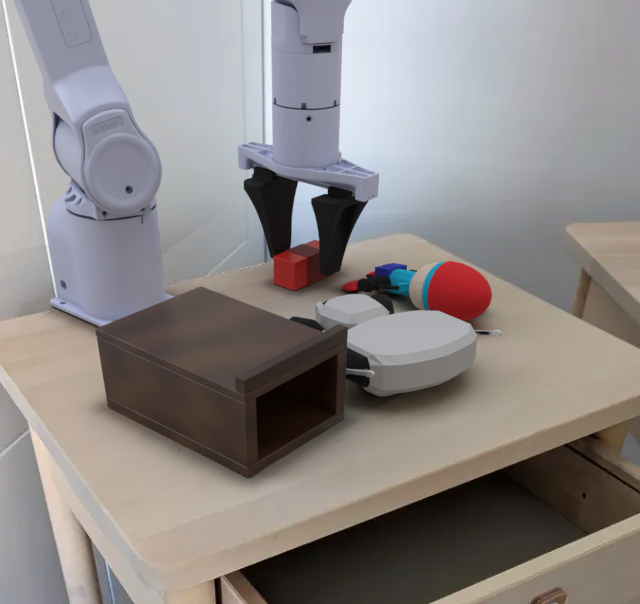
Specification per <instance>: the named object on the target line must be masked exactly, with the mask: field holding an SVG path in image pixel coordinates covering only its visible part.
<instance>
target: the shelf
mask: <svg viewBox="0 0 640 604" xmlns="http://www.w3.org/2000/svg"><path fill="white" fill-rule="evenodd" d="M289 319H290V318H286V317H284V316H282V315H279V314H276V313H273V312H271V311H268V310H265V309H263V308H261V307H257V306H255V305H251V304H249V303H247V302H244V301H241V300H238V299H237V298H233V297H230V296H229V295H226V294H222V293H220V292H218V291H214V290H212V289H209V288H207V287H205V286H201V285H200V286H198V287H195V288H194V289H191V290H188V291H186V292H183V293H181V294H178V295H176V296H175V297H173V298H170V299H168V300H165V301H163V302H161V303H158V304H156V305H153V306H151V307H148V308H146V309H143V310H141V311H138V312H136V313H133V314H131V315H128V316H126V317H123V318H121V319H118V320H116V321H113V322H111V323H108V324H106V325H103V326H101V327H99V326H97V327H96V328H94V329H95V336H96V341H97V347H98V354H99V359H100V360H99V361H100V367H101V372H102V373H101V374H102V379H103V380H102V381H103V386H104V392H105V398H106V406H107V407H108V408H110V409H112V410H114V411H115V412H117V413H120V415H123V416H125V417H127V418H129V419H131V420H132V421H133V420H134V421H135V422H137V423H139V424H141V425H143V426H145V427H146V428H149V429H151V430H153V431H154V432H157V433H159V434H161V435H162V436H165V437H167V438H169V439H170V440H172V441H175V442H176V443H178V444H180V445H182V446H184V447H186V448H189V449H191V450H192V451H194V452H195V453H198V454H200V455H202V456H204V457H206V458H208V459H210V460H212V461H213V462H216V463H218V464H220V465H222V466H223V467H226V468H227V469H229V470H232V471H234V472H236V473H237V474H240V475H241V476H243V477H245V478H246V479H247V478H248V479H249V478H252V477H253V476H255V475H256V474H257V473H259V472H261V471H262V470H264V469H265V468H267V467H269V466H271V465H273V464H274V463H275V462H277V461H279V460H280V459H282V458H283V457H286V456H287V455H289V454H290V453H291V452H293V451H295V450H297V449H298V448H300V447H301V446H303V445H304V444H306V443H307V442H309V441H311V440H313V439H314V438H316V437H317V436H319V435H320V434H322V433H324V432H325V431H327V430H329V429H331V428H332V427H333V426H335V425H337V424H339V423H340V422H342V421H343V420H345V406H346V380H347V379H346V361H347V338H348V327H346V326H344V325H341V324H338V325H336V326H334V327H332V328H330V329H328V330H326V331H324V332H321V331H319V330H316V329H313V328H311V327H308V326H305V325H303V324H300V323H297V322H295V321H292V320H289Z"/></svg>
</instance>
